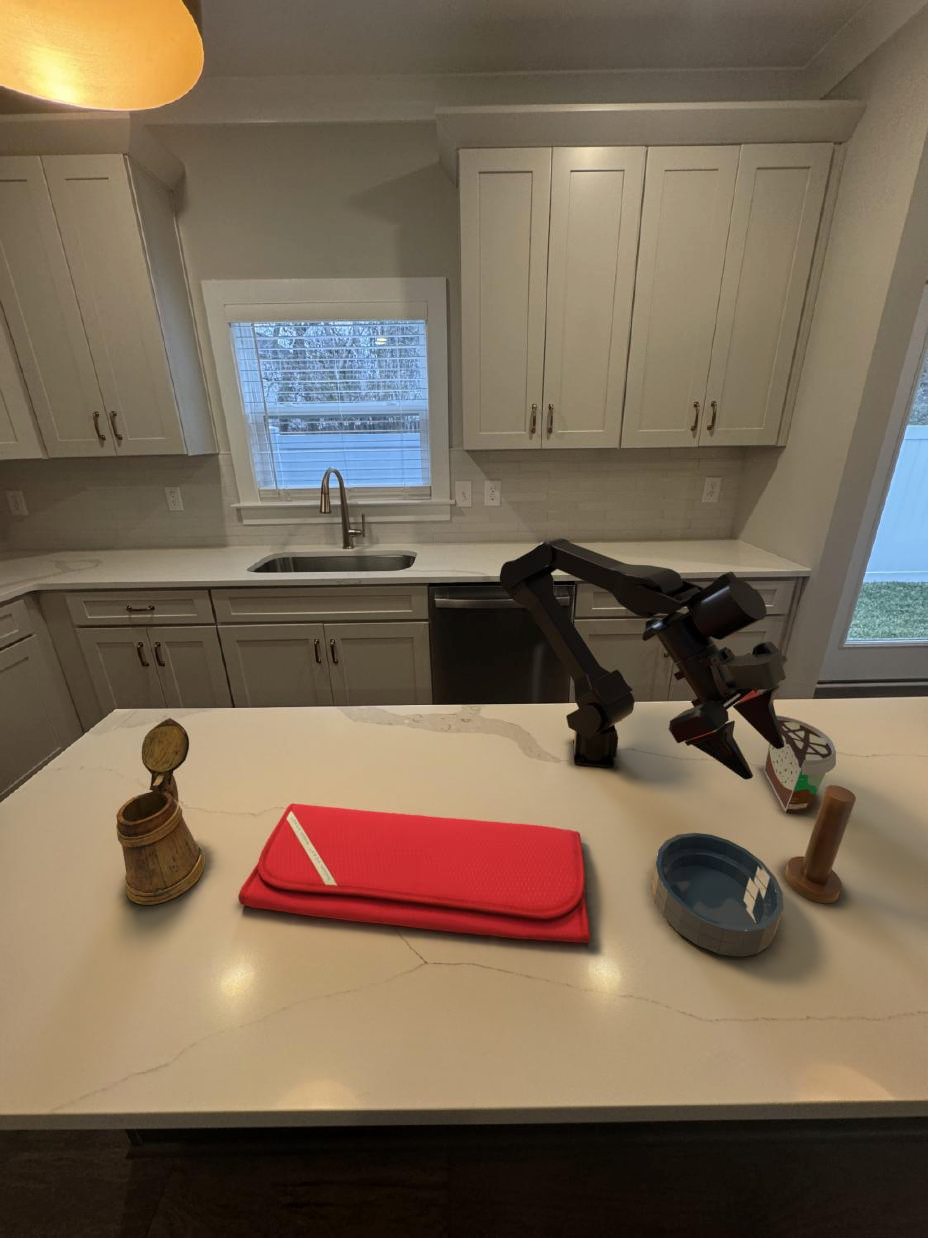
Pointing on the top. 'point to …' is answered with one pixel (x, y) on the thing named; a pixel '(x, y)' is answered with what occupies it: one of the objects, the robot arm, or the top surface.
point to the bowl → (717, 894)
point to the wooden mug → (159, 825)
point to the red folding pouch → (424, 873)
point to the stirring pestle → (822, 849)
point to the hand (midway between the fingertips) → (765, 762)
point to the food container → (799, 763)
